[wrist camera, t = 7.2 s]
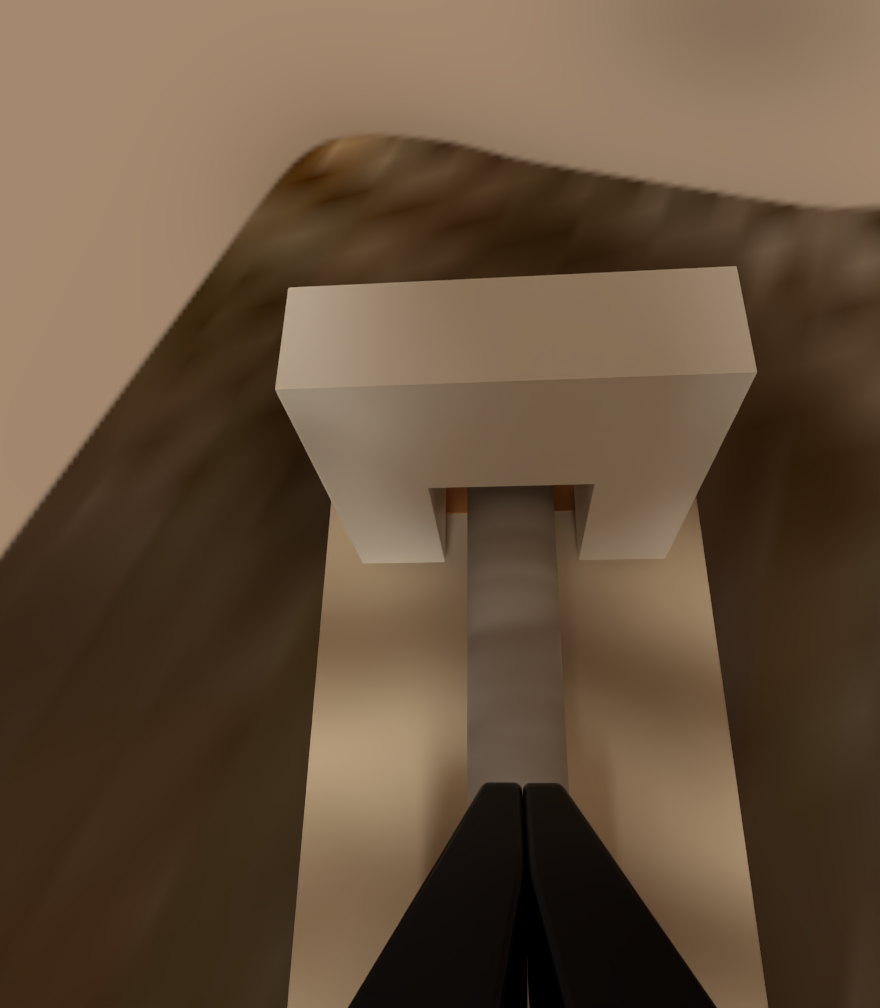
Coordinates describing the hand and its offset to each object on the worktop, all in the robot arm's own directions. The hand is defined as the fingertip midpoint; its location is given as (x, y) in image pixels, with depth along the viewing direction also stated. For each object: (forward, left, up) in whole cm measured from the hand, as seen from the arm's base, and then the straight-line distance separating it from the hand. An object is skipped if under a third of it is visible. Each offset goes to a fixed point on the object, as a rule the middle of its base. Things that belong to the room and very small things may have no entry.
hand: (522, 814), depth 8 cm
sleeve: (+8, -3, -12) cm, 15 cm away
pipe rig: (+4, -2, -13) cm, 14 cm away
